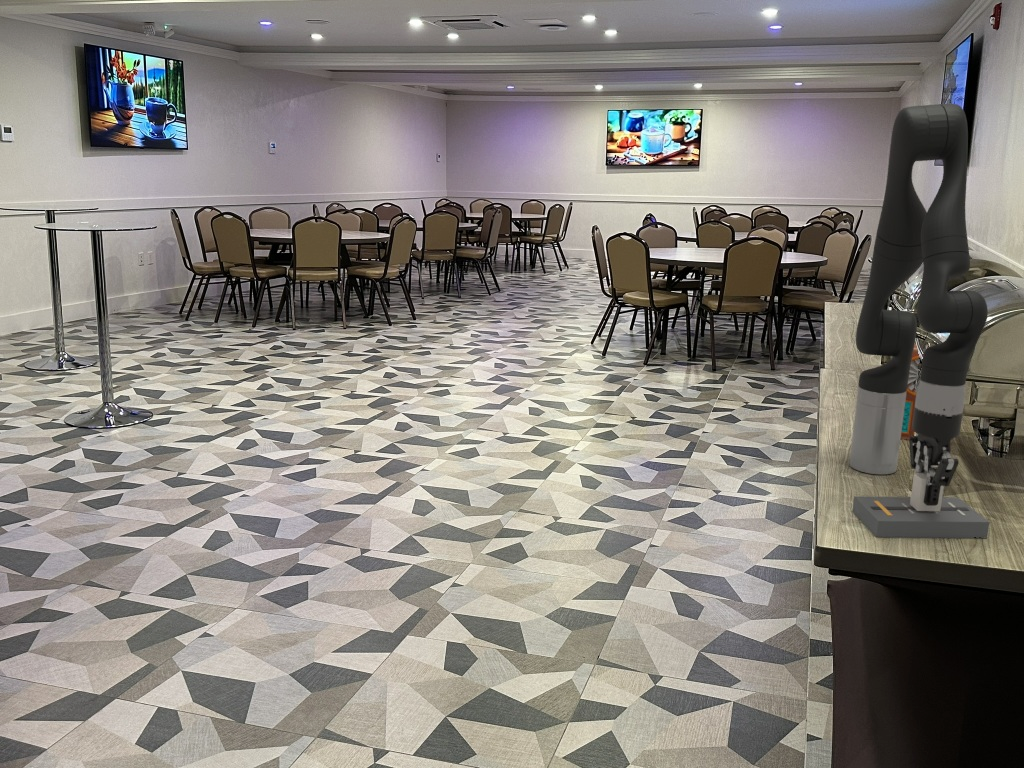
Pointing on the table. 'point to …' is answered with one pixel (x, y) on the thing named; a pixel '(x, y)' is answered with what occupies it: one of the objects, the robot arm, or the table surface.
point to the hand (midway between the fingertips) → (925, 500)
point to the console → (919, 518)
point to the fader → (922, 493)
